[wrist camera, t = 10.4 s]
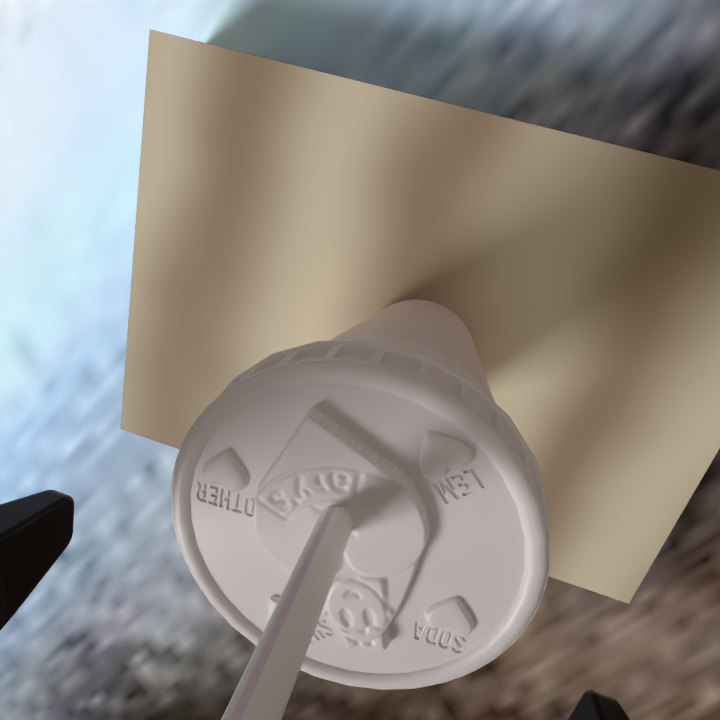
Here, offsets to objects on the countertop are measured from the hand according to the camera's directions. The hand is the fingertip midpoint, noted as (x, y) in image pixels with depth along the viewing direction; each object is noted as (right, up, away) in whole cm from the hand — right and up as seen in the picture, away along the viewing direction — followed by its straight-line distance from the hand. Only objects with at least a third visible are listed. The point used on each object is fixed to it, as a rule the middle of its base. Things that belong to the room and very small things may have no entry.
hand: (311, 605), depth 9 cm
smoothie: (+3, +4, +9) cm, 10 cm away
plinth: (+3, +6, +11) cm, 13 cm away
